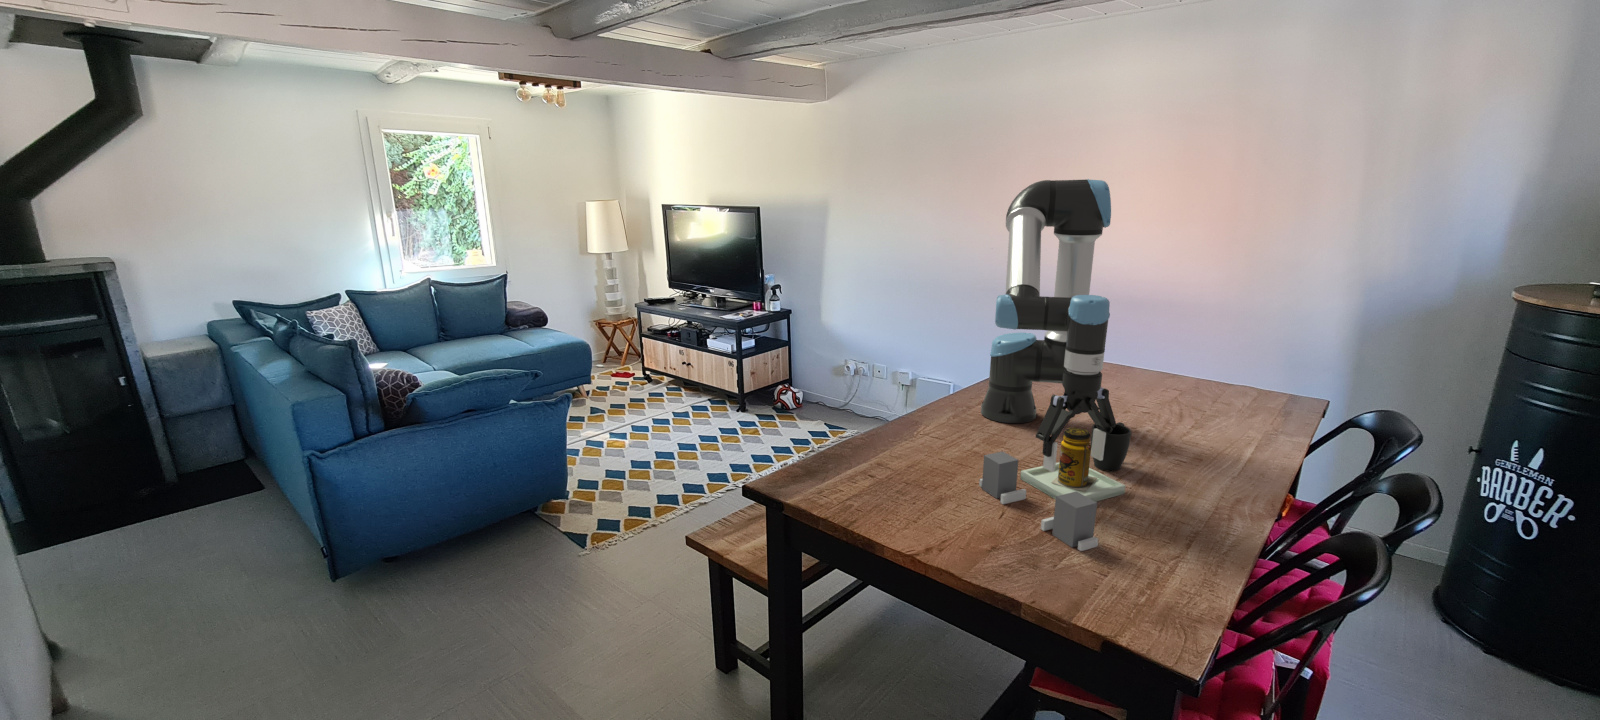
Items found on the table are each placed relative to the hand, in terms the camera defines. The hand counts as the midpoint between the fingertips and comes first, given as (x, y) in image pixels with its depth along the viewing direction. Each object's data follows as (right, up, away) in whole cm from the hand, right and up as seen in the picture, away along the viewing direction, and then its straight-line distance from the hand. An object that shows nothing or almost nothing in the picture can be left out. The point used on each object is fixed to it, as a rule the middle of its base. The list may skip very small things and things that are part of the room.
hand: (1073, 463), depth 143 cm
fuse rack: (-12, -8, -10) cm, 18 cm away
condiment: (+1, -4, +2) cm, 5 cm away
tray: (0, -5, +1) cm, 5 cm away
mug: (+14, -2, +12) cm, 18 cm away
